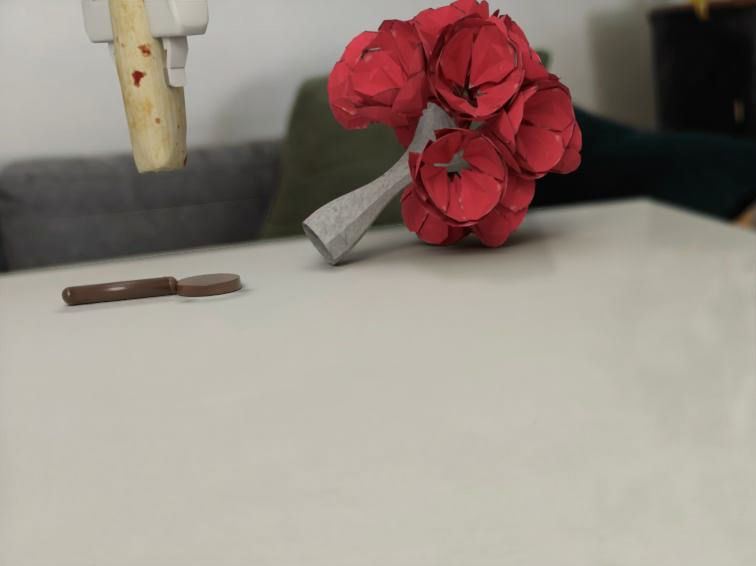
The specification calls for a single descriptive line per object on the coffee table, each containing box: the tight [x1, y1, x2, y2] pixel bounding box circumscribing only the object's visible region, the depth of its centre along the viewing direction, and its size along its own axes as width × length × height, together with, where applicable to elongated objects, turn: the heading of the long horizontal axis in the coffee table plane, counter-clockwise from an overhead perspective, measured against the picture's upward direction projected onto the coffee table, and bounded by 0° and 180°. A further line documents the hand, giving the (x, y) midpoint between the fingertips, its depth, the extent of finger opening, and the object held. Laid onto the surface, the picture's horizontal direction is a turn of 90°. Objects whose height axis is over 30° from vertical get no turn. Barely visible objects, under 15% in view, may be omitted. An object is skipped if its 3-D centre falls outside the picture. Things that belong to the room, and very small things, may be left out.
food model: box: [108, 0, 188, 175], centre depth 122 cm, size 10×7×20 cm
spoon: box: [61, 272, 242, 306], centre depth 105 cm, size 16×6×2 cm, turn 104°
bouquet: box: [301, 0, 583, 266], centre depth 114 cm, size 22×24×30 cm
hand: (154, 87), depth 122 cm, fingers closed on food model, 8 cm apart
